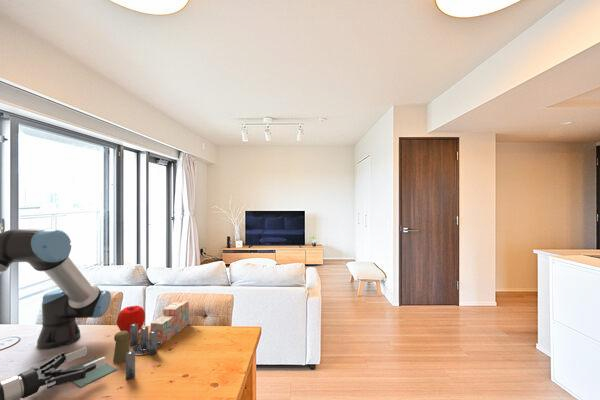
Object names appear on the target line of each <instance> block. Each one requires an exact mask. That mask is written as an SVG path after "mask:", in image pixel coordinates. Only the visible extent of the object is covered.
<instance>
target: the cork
mask: <svg viewBox="0 0 600 400" xmlns="http://www.w3.org/2000/svg"><path fill="white" fill-rule="evenodd" d="M113 339H114V342H115V346H114V351H113V352H114V353H113V359H112V363H113V364H123V363H126V353H127V352H128V351H130V344H129V341H128V340H129V339H130V336H129V332H128V331H120V330H119V331H118V332H116V333H115V334H114V338H113Z"/></svg>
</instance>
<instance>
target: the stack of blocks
mask: <svg viewBox="0 0 600 400" xmlns="http://www.w3.org/2000/svg"><path fill="white" fill-rule="evenodd" d="M189 303H190V301H189V300H176V301H174V302H172V303H171V304H169V305H168V306H166V307H164V308H163V310H162V313H163V314H162V315H161V316H160V317H158V318H156V319H154V320H153V321H152V322H151V323H150V330H149V331H150V332H151V331H157V342H160V343H161V344H160V345H163V344H165V343H166V342H167V341H169V340H170V339H171V338H173V337H174V336H176V334H178V333H179V332H180V331H181V329H182V328H183V327H184V328H185V327H188V326H189V321H190V319H189V317H190V316H189V315H190V314H189V313H190V309H189V308H190V307H189V306H190V304H189ZM184 328H183V329H184ZM183 329H182V330H183ZM179 330H180V331H179ZM178 331H179V332H178ZM177 332H178V333H177ZM172 336H173V337H172Z"/></svg>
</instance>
